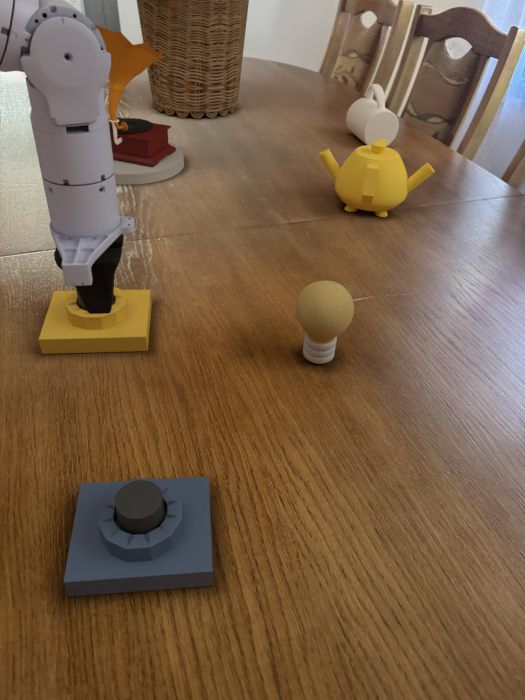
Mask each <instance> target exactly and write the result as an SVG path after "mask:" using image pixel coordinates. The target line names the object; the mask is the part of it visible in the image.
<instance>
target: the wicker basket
mask: <svg viewBox="0 0 525 700" xmlns="http://www.w3.org/2000/svg"><path fill="white" fill-rule="evenodd" d="M249 4H250V0H136V6H137V12H138V18H139V25H140V31H141V36H142V37H141V38H142V43H147V42H148V44H149V45H150V47H151V48H152V50H153V51H154V52H164V54H163V55H162V56H164V57H163V58H161V59H158V60H156V61H155V62H154V63H152V64H151V65H150V66H149V67H148V68H146V71H147V75H148V81H149V86H150V87H149V88H150V93H151V99H152V104H153V108H155V109H156V110H157V112H159V113H162V112H164V113H165V114H166V115H167V116H173V115H174V114H176V115H177V116H178V117H179V118H181V119H184V118H187V117H188V116H189V114H190V116H191V118H194V119H195V120H198V119H201V118H203V116H204V115H205V116H206V117H207V118H208V119H214V118H216V117H217V116H218V114H219V115H220V116H221V117H225V116H227V114H228V113H230V114H233V113H234V112H235V110H237V108H238V101H239V92H240V84H241V75H242V67H243V58H244V57H243V56H244V50H245V49H244V48H245V40H246V32H247V31H246V30H247V22H248V21H247V20H248V14H249V13H248V10H249Z"/></svg>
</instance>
